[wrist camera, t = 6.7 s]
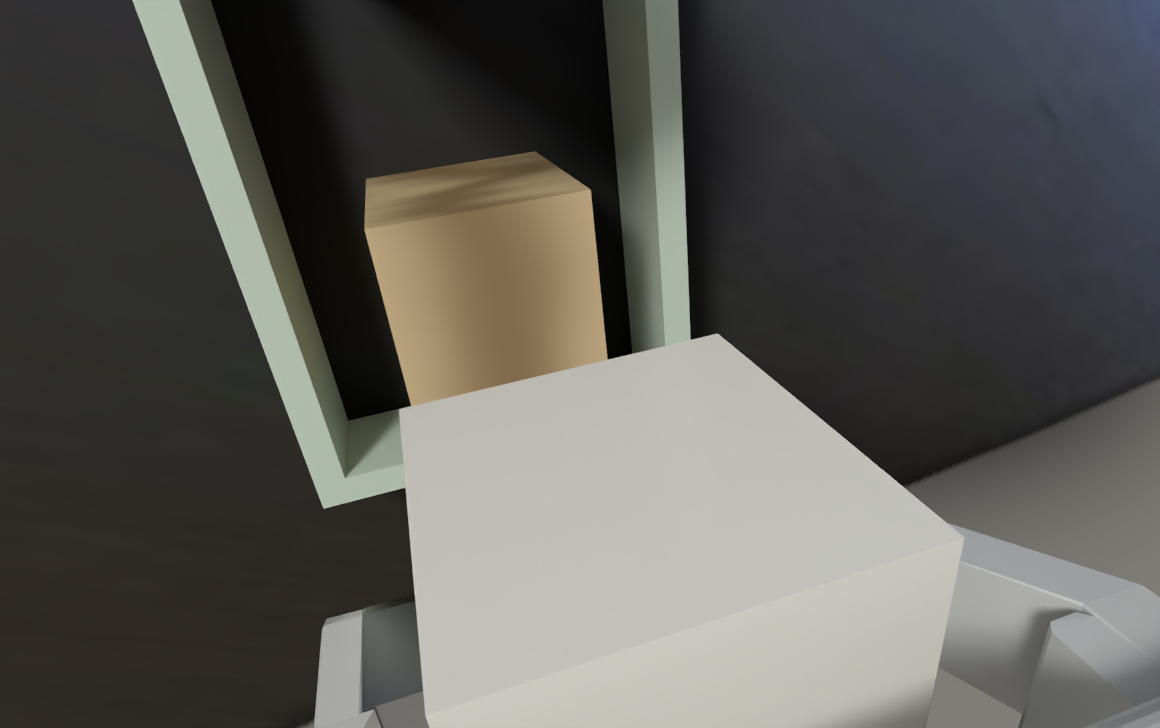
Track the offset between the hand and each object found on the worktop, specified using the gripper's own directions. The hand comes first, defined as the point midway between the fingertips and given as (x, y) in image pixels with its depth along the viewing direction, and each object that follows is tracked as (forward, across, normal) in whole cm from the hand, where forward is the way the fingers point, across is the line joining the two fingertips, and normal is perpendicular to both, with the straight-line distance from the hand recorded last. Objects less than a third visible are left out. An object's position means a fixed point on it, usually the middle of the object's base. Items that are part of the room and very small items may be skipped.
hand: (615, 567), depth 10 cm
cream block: (+2, 0, 0) cm, 2 cm away
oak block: (+17, 0, 0) cm, 17 cm away
